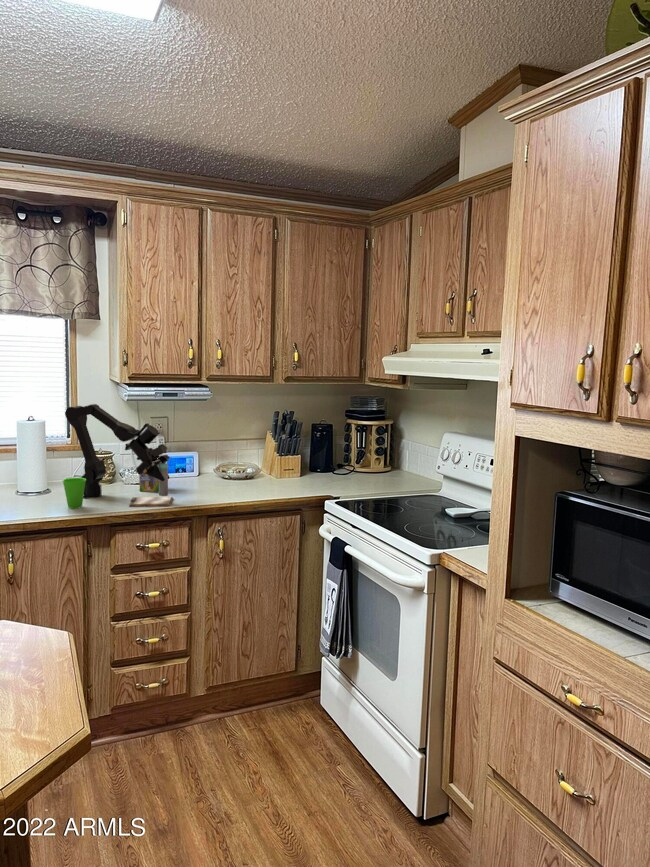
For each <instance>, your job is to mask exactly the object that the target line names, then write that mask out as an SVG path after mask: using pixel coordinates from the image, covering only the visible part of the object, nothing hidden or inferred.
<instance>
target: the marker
mask: <svg viewBox="0 0 650 867" xmlns="http://www.w3.org/2000/svg"><path fill="white" fill-rule="evenodd" d="M159 471H160V473H161V474H162V476H163V477H164V479H165V480H164V481H161V480H159V492H158V497H168V496H169V479H168V475H169V463H167V462H166V463H160V464H159Z"/></svg>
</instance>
